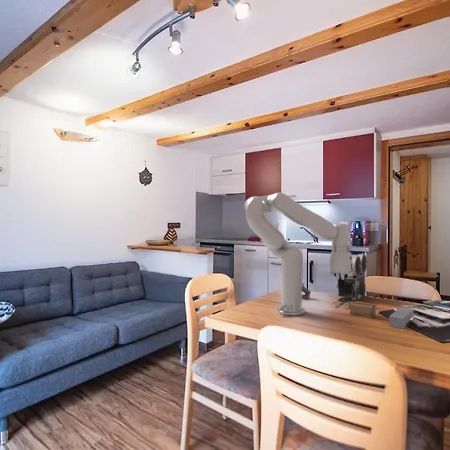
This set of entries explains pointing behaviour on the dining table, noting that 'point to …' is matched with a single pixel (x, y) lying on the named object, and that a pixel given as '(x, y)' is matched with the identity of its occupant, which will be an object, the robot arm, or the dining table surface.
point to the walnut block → (363, 309)
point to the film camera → (354, 281)
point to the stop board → (401, 317)
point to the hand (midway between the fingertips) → (341, 287)
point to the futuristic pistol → (307, 293)
